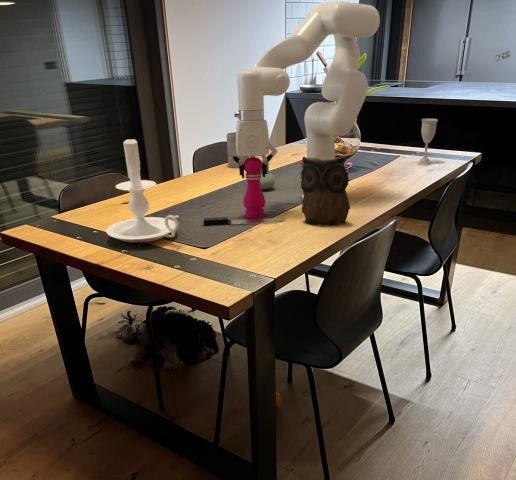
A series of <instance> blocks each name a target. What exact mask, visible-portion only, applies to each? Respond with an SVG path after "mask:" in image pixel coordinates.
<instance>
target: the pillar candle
mask: <svg viewBox="0 0 516 480" xmlns="http://www.w3.org/2000/svg"><path fill="white" fill-rule="evenodd" d="M235 143H236V131H234V132H228V133H226V149H227V153H228V152H229V150H230V149H231V148H232V147H233V146H234V144H235ZM234 155H236V156H237V157H238V158H239V157H240V156H238V155H237V152H236V150H235V151H234ZM247 158H250V157H244V160H243V164H244V162H245V160H246V159H247ZM227 166H228V168H232V169H239V164H238V163H237V162H236V161H234V159H233V158H231V157H230V156H229V155H228V154H227Z"/></svg>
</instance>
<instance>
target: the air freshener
mask: <svg viewBox="0 0 516 480" xmlns="http://www.w3.org/2000/svg"><path fill="white" fill-rule="evenodd" d="M260 160H261V161H262V163H263V159H260ZM269 164H270V161H269V162H268V164H267V174H265V178H264V177H263V176H262V170H261V171H260V173H261V178H260V187H261V190H262V191H266V190H269V189H271V188H273V187H274V186H275V183H276V181H275V177H274V174H272V173H271V172H270V165H269Z"/></svg>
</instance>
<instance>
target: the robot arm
mask: <svg viewBox="0 0 516 480" xmlns="http://www.w3.org/2000/svg"><path fill="white" fill-rule="evenodd" d="M380 18H381V17H380V13H379V11H378V9H377V8H376V7H375V6H373V5H371V4H364V3H356V2H351V1H344V0H336V1H335V0H334V1H325V2H324V1H323V2H320V3H317V4H316V5H314V6H313V7H312V8H311V10H310V11H309V12H308V13H307V15H306V16H305V17H304V18H303V19H302V20H301V22H300V23H299V24H298V26H296V27H295V29H294V30H293V31H292V32H291V34H289V35H288V36H286V38H284V39H282V40H281V41H280V42H278V43H277V44H275V45H273V47H271V48H269V49H268V50H267V51H266V52H265V53H264V54H263V55H261V56H260V58H259V59H258V60H257V61H256V62H255V64H254V65H253V66H252V67H251V69H243V70H240V71H238V73H237V79H236V80H237V101H238V102H237V103H238V110H237V111H235V112H233V118H237V119H238V120H237V121H236V127H235V132H236V143H235V144H234V146H233V147H232V148H231V149H230V150H229V152H227V156H228V155H229V156H230V157H231V158H233V159H234V161H236V162H237V163H238V164H239V168H238V170H239V176H241V179H245V170H244V164H243V160H244V157H249V158H250V156H255V157H261V158H262V159H261V160H263V163H262V165H263V167H262V176H263V177H264V178H265V174H267V164H268V162H269V163H270V161H271V160H272V159H273V157H275V156H276V155H277V154H278V149H277V148H276V147H275V146H274V145H273V144H272V143H271V142H270V135H269V125H268V122H267V120H266V119H265V103H264V102H265V100H264V99H265V98H264V97H265V96H272V97H278V96H281V95H284V94H285V93H286V92H287V91H288V89H289V87H290V83H291V80H290V75H289V74H288V72H287V71H286V70H285V69H287V68H289V67H291V66H295V65H298V64H301V63H303V62H304V61H306V60H309V58H311V57H312V56H313V54H314V53H315V52H316V51H317V49H318V48H320V46H321V44H323V42H324V41H325V40H326V38H328V36H330V35H333V39H334V45H335V48H334V49H335V50H334V53H333V54H334V55H333V57H332V60H331V62H330V65H329V67H328V70H327V72H326V74H325V76H324V78H323V81H322V84H321V88H320V89H321V95H322V97H323V98H324V99H325V100H327V101H328V102H326V101H317V102H313V103H312V104H310V105H309V106H308V107H307V109H306V110H305V112H304V117H303V118H304V119H303V120H304V128H305V134H306V158H318V157H325V158H326V157H335V156H336V155H335V154H336V144H335V140H334V137H333V136H335V137H344V136H346V135H347V134H348V133H350V131H351V130H352V129H353V127H354V124H355V123H356V121H357V118H358V116H359V113H360V111H361V109H362V107H363V104H364V102H365V99H366V97H367V94H368V88H369V85H368V79H367V77H366V74H364V73H363V72H362V71H360V70H357V69H358V67H359V64H360V60H361V51H360V46H359V43H358V40H357V39H364V38H365V39H366V38H370V37H372V36H374V35H375V34H376V33H377V31H378V30H379V27H380V24H381V19H380ZM329 101H330V102H329ZM332 102H333V103H332ZM235 150H236V152H237V155H238V156H240V157H239V158H238V157H237V156H236V155H234V151H235ZM335 158H336V157H335ZM303 197H304V193H303V194H302V195H301V200H302V201H303Z"/></svg>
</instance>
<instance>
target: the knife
mask: <svg viewBox="0 0 516 480" xmlns="http://www.w3.org/2000/svg"><path fill="white" fill-rule="evenodd" d="M231 217H232V216H218V217H217V216H216V217H203V227H207V226H208V227H209V226H225V225H226V226H227V225H231V226H238V225H239V226H240V225H241V226H242V225H257V224H275V223H276V222H283V220H284V218H283V217H272V218H249V219H233V220H232V218H231ZM276 224H277V223H276Z"/></svg>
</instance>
